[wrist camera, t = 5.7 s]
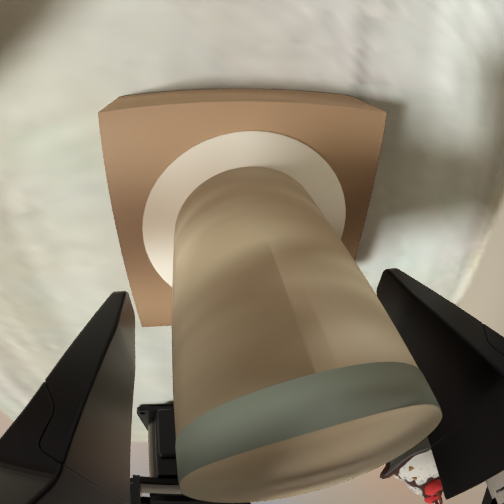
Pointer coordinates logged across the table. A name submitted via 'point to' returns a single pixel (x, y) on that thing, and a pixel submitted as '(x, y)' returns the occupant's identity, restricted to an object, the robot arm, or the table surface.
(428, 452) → the sundae
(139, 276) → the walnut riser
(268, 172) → the birch cylinder
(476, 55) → the table surface
